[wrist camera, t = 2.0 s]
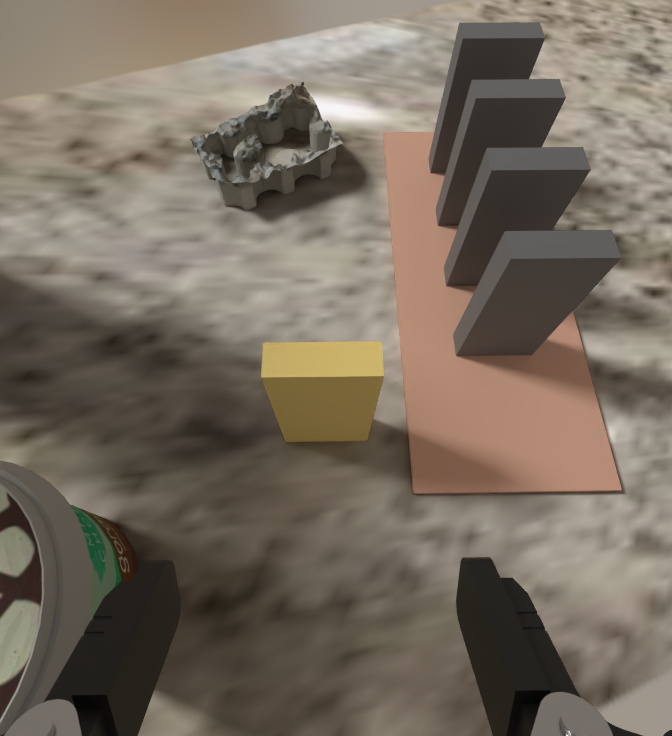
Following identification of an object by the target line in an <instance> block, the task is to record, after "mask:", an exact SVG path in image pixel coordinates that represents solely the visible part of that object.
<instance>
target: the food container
mask: <svg viewBox="0 0 672 736" xmlns="http://www.w3.org/2000/svg"><path fill="white" fill-rule="evenodd" d="M137 569H138V563H137V558H136V554H135V550H134V549H133V547H132V546H131V544H130V542H129V541H128V539H127V537H126V536H125V534H124V533H123V532H122V531H121V530H120V529H119V528H118V527H117V526H116V525H114V524H113V523H111V522H110V521H108V520H107V519H105V518H102V517H100V516H97V515H95V514H92V513H90V512H87V511H85V510H82V509H80V508H77V507H75V506H72V505H70V504H69V503H68V502H67V500H66V499H65V497H64V496H63V495H62V494H61V493H60V492H59V491H58V490H57V489H56V488H55V487H54V486H53V485H52V484H51V483H50V482H48V481H47V480H45V479H44V478H42V477H41V476H39V475H38V474H36V473H34V472H33V471H31V470H29V469H26V468H24V467H21V466H19V465H16V464H13V463H9V462H4V461H0V735H2V734H4V733H6V732H7V731H8V729H9V728H10V727H11V726H12V724H13V723H14V722H15V721H16V720H17V719H18V718H19V717H20V716H22V715H23V714H24V713H25V712H27V711H28V710H30V709H31V708H33V707H35V706H37V705H39V704H41V703H43V702H44V700H45V699H46V697H47V695H48V694H49V692H50V690H51V689H52V687H53V685H54V683H55V682H56V680H57V678H58V676H59V675H60V673H61V671H62V669H63V668H64V666H65V664H66V663H67V661H68V659H69V657H70V656H71V654H72V652H73V650H74V649H75V647H76V645H77V643H78V642H79V640H80V638H81V636H83V635H84V631H85V629H86V628H87V626H88V624H89V622H90V621H91V620H92V619H93V615H94V614H95V612H96V610H97V609H98V607H99V605H100V603H101V602H102V600H103V598H104V597H105V596H106V595H107V594H108V593H109V592H110V591H111V590H112V589H113V588H114V587H115V586H117V585H118V584H119V583H120V582H129V581H132V579H133V577H134V575H135V573H136V571H137Z"/></svg>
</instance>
